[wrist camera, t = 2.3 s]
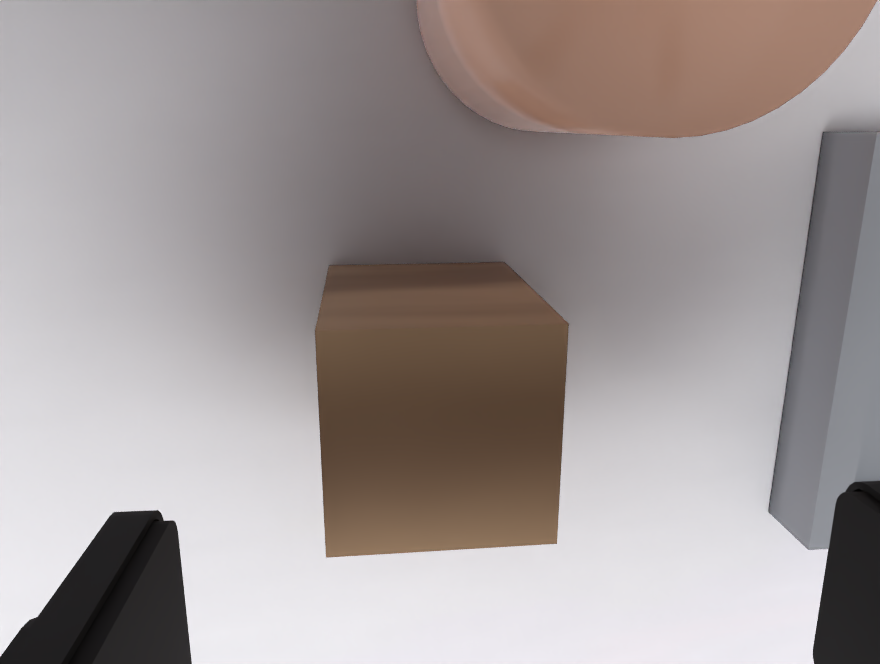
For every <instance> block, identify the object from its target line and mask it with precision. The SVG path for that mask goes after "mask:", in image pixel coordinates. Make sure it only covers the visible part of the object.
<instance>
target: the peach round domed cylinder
mask: <svg viewBox="0 0 880 664" xmlns="http://www.w3.org/2000/svg"><path fill="white" fill-rule="evenodd" d="M876 2H877V0H416V4H417V17H418V22H419V28H420V33H421V36H422V39H423V42H424V46H425V49H426V51H427V54H428V56H429V58H430V60H431V62H432V64H433V67H434V68H435V70H436V71H437V73H438V75H439V76H440V78H441V79H442V81H443V82H444V83H445V85H446V86H447V87H448V88H449V90H450V91H451V92H452V93H453V94H454V95H455V96H456V97H457V98H458V99H459V100H460V101H461V102H462V103H463V104H464V105H465V106H467V107H468V108H470V109H471V110H472V111H474V112H475V113H477V114H478V115H480V116H482V117H483V118H485V119H487V120H489V121H491V122H493V123H496V124H499V125H502V126H504V127H507V128H512V129H516V130H521V131H533V132H552V133H575V134H598V135H620V136H643V137H665V138H678V137H692V136H702V135H707V134H711V133H716V132H721V131H725V130H729V129H731V128H734V127H737V126H740V125H743V124H745V123H748V122H751V121H753V120H755V119H757V118H759V117H761V116H763V115H765V114H767V113H769V112H771V111H773V110H775V109H777V108H779V107H780V106H782V105H783V104H784V103H786V102H787V101H789V100H790V99H792V98H793V97H795V96H796V95H798V94H799V93H801V92H802V91H803V90H804V89H806V88H807V87H808V86H809V85H810V84H811V83H812V82H814V81H815V80H816V79H817V78H818V77H819V76H821V75H822V74H823V73H824V72H825V71H826V70H827V69H828V68H829V67H830V65H831V64H832V63H833V62H834V61H835V60H836V59H837V58H838V57H839V56H840V55H841V54H842V52H843V51H844V50H845V49H846V47H847V46H848V45H849V43H850V42H851V41H852V39H853V38H854V37H855V35H856V34H857V32H858V31H859V30H860V28H861V27H862V26H863V24H864V22H865V21H866V19H867V17H868V15H869V14H870V12H871V10H872V9H873V7H874V5H875V3H876Z"/></svg>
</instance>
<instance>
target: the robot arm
mask: <svg viewBox="0 0 880 664" xmlns="http://www.w3.org/2000/svg"><path fill="white" fill-rule="evenodd" d="M813 659H814V664H880V481H862V482H854V483H852V484H850V485H849V487H848V488H847V489H846V492H843V493H842V494H840V495H839V496H838V498H837V501H836V504H835V511H834V517H833V524H832V530H831V537H830V543H829V550H828V556H827V563H826V569H825V576H824V582H823V588H822V595H821V601H820V608H819V614H818V621H817V627H816V634H815V640H814V647H813ZM0 664H192V662H191V653H190V643H189V634H188V624H187V615H186V605H185V596H184V586H183V577H182V567H181V558H180V549H179V539H178V531H177V526H176V523H175V522H174V521H163V517H162V515H161V513H160V512H159V511H158V510H156V511H131V512H114V513H113V514H112V515H111V516H110V517H109V518H108V519H107V521H106V522H105V524H104V525H103V526H102V528H101V529H100V531H99V532H98V533H97V535H96V536H95V538H94V539H93V540H92V542H91V543H90V545H89V546H88V547H87V549H86V550H85V552H84V553H83V554H82V556H81V557H80V559H79V560H78V561H77V563H76V564H75V566H74V567H73V568H72V570H71V571H70V573H69V574H68V575H67V577H66V578H65V579H64V581H63V582H62V584H61V585H60V586H59V588H58V589H57V591H56V592H55V593H54V595H53V596H52V598H51V599H50V600H49V602H48V603H47V605H46V606H45V607H44V609H43V610H42V612H41V613H40V614H39V616H38V617H36V618H34V619H31V620H29V621H28V622H27V623H26V624H25V625H24V626H23V627H22V628H21V630H20V631H19V632H18V634H17V635H16V636H15V638H14V639H13V640H12V642H11V643H10V645H9V646H8V647H7V649H6V650H5V651H4V653H3V654H2V655H1V657H0Z"/></svg>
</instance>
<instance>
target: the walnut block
mask: <svg viewBox="0 0 880 664" xmlns="http://www.w3.org/2000/svg"><path fill="white" fill-rule="evenodd" d="M568 326H569V324H568V323H567V322H566V321H565V320H564V319H563V318H562V317H561V316H560V315H559V314H558V313H557V312H556V311H555V310H554V309H553V308H552V307H551V306H550V305H549V304H548V303H547V302H546V301H545V300H543V299H542V298H541V297H540V296H539V295H538V294H537V293H536V292H535V291H534V290H533V289H532V288H531V287H530V286H529V285H528V284H527V283H526V282H525V281H524V280H523V279H522V278H521V277H520V276H519V275H517V274H516V273H515V272H514V271H513V270H512V269H511V268H510V267H509V266H508V265H507V264H506V263H505V262H481V263H428V264H374V265H329V268H328V273H327V277H326V282H325V287H324V291H323V296H322V301H321V305H320V310H319V314H318V319H317V324H316V328H315V341H316V362H317V382H318V403H319V423H320V443H321V464H322V484H323V504H324V525H325V545H326V557H341V556H358V555H375V554H391V553H408V552H425V551H441V550H458V549H475V548H491V547H508V546H525V545H541V544H557V531H558V512H559V494H560V475H561V456H562V438H563V419H564V400H565V382H566V363H567V345H568Z"/></svg>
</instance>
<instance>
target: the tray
mask: <svg viewBox="0 0 880 664" xmlns="http://www.w3.org/2000/svg"><path fill="white" fill-rule="evenodd" d="M862 481H880V132H823V139H822V146H821V153H820V159H819V166H818V173H817V180H816V187H815V194H814V201H813V208H812V215H811V222H810V229H809V236H808V243H807V250H806V256H805V263H804V270H803V277H802V284H801V291H800V298H799V305H798V312H797V319H796V326H795V333H794V340H793V347H792V353H791V360H790V367H789V374H788V381H787V388H786V395H785V402H784V409H783V416H782V423H781V430H780V437H779V444H778V450H777V457H776V464H775V471H774V478H773V485H772V492H771V499H770V506H769V513H770V514H771V515H772V516H773V517H774V518H775V519H776V520H777V521H778V522H780V523H781V524H782V525H783V526H784V527H785V528H786V529H787V530H788V531H789V532H790V533H791V534H792V535H793V536H794V537H795V538H796V539H797V540H799V541H800V542H801V543H802V544H803V545H804V546H805V547H806V548H807V549H808V550H814V549H829V543H830V537H831V530H832V524H833V517H834V511H835V504H836V501H837V498H838V496H839V495H840V494H842V493H843V492H846V489H847V488H848V487H849V485H850V484H852V483H854V482H862Z"/></svg>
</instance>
